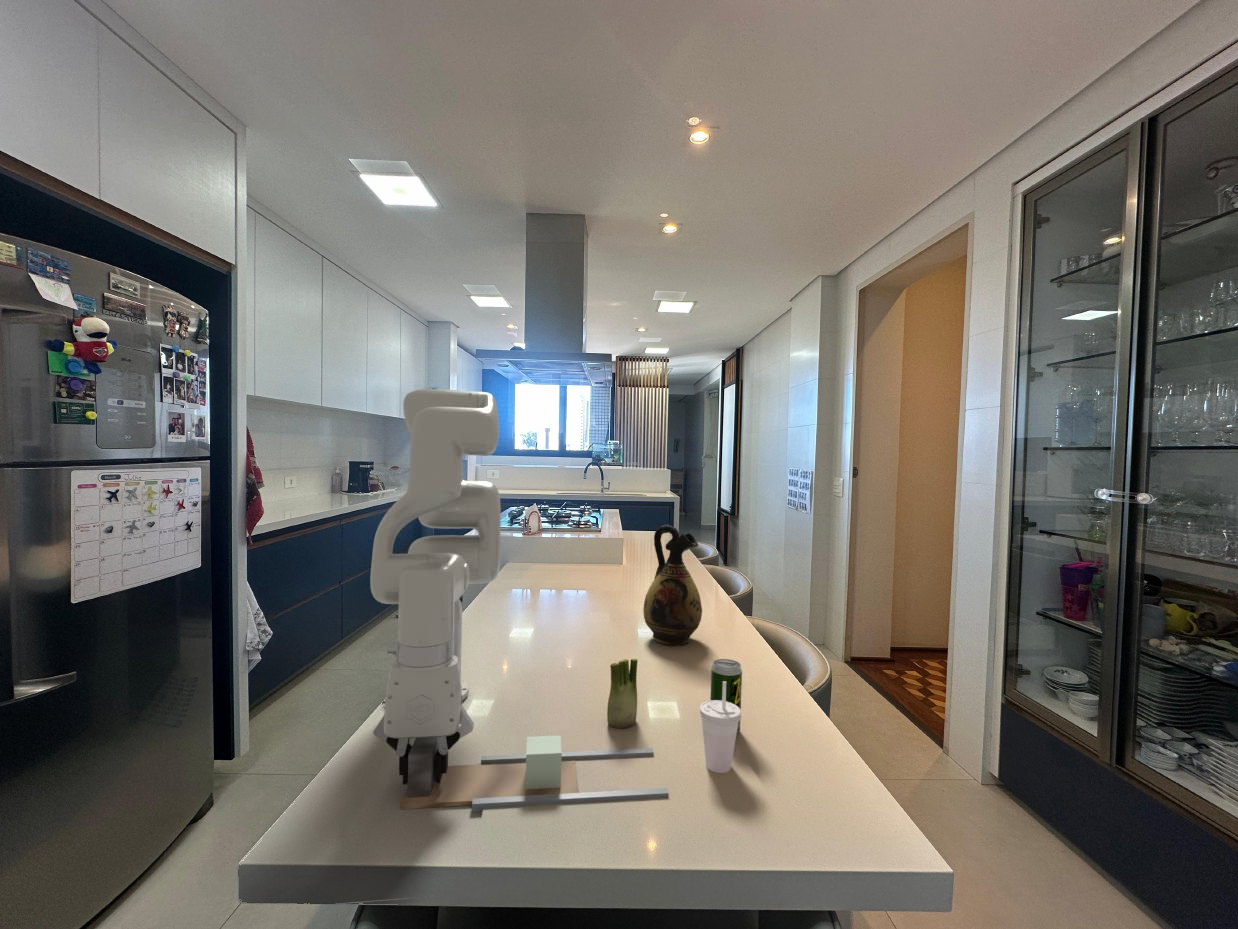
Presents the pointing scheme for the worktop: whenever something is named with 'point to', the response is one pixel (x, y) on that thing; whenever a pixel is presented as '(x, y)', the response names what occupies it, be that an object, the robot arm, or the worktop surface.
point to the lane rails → (568, 797)
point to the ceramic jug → (672, 592)
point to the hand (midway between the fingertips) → (423, 777)
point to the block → (543, 762)
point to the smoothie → (719, 732)
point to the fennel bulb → (623, 695)
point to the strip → (471, 780)
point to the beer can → (727, 682)
